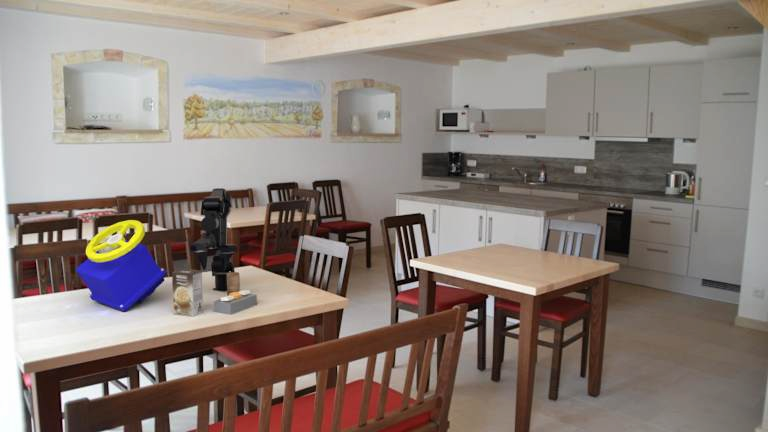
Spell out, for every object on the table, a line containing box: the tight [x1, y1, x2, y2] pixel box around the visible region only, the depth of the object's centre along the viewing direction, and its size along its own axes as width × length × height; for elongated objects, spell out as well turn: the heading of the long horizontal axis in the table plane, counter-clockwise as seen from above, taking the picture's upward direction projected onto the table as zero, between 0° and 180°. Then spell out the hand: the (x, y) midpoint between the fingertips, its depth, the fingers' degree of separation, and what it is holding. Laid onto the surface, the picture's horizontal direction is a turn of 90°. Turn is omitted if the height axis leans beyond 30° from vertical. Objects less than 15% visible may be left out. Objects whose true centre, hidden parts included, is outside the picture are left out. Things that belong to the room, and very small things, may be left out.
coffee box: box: [171, 268, 204, 318], centre depth 234 cm, size 9×6×16 cm
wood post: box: [226, 271, 241, 296], centre depth 256 cm, size 5×5×10 cm
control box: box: [75, 219, 168, 313], centre depth 244 cm, size 26×27×30 cm
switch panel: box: [213, 293, 258, 315], centre depth 242 cm, size 8×15×4 cm, turn 152°
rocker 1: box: [220, 295, 234, 301], centre depth 237 cm, size 4×3×1 cm
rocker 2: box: [237, 289, 251, 295], centre depth 245 cm, size 4×3×1 cm
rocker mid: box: [229, 292, 242, 299], centre depth 241 cm, size 4×3×1 cm
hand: (214, 270), depth 246 cm, fingers open, 9 cm apart
